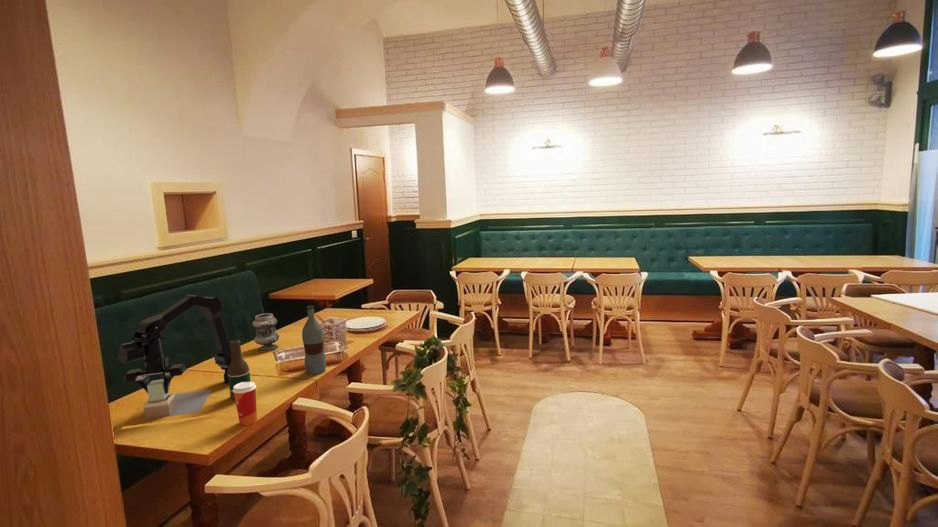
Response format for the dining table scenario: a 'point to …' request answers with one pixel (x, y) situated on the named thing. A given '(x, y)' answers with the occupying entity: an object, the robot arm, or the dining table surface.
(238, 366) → the beer bottle
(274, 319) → the apothecary jar
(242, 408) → the paper cup
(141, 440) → the dining table surface
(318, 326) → the vodka
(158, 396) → the green block
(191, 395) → the board
